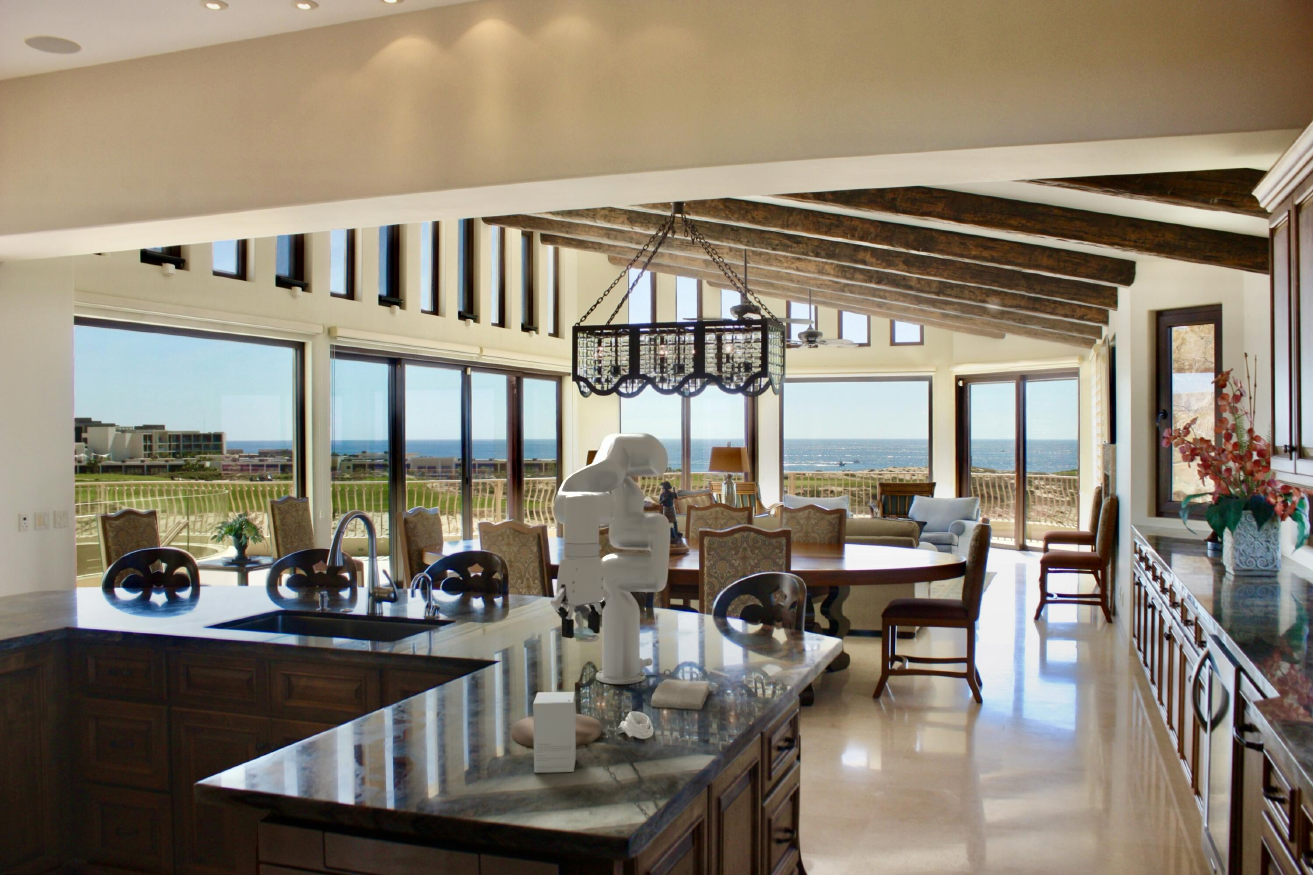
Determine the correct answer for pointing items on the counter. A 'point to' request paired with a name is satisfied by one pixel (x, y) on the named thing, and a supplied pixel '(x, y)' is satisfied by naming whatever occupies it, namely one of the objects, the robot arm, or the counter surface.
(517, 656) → the counter surface
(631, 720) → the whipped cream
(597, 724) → the walnut board
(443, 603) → the counter surface
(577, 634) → the pacifier
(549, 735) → the supplement box
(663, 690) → the washcloth
